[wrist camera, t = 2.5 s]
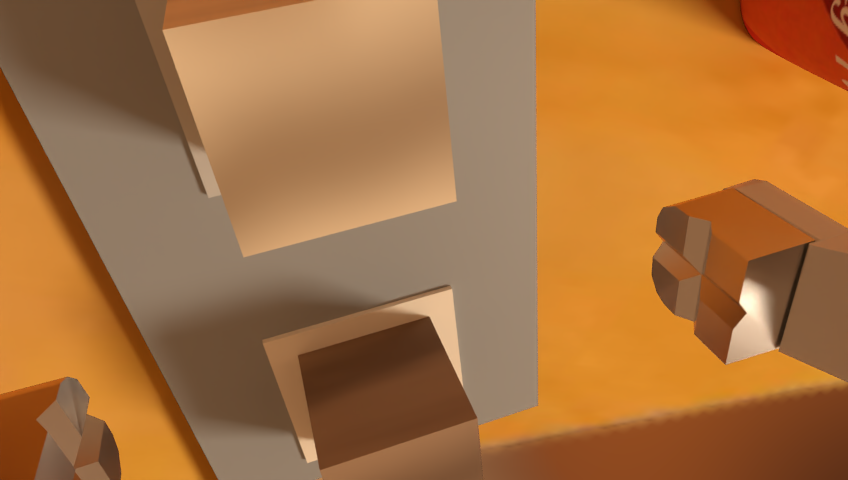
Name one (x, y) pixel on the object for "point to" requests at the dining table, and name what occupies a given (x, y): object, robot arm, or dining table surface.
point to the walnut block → (390, 408)
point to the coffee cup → (803, 33)
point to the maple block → (316, 111)
